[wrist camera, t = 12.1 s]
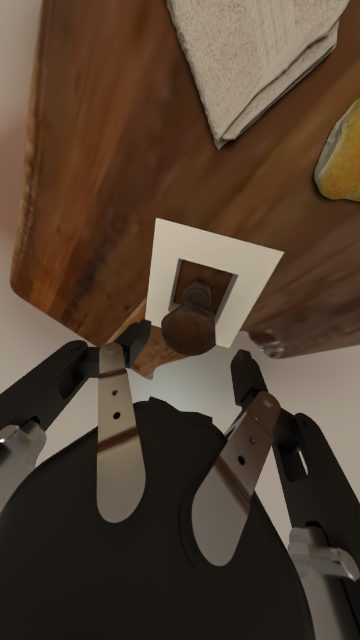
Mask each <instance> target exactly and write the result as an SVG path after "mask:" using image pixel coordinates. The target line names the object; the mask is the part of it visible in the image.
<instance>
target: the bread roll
mask: <svg viewBox="0 0 360 640" xmlns="http://www.w3.org/2000/svg"><path fill="white" fill-rule="evenodd" d="M314 179H315V182H316V184H317V186H318V189H319V191H320V192H321V194H322V195H324V196H325V197H327V198H329V199H350V200H353V201H360V98H358V99H357V100H356V101H355V102H354V103H353V104H352V105H351V106H350V108H349V109H348V110H347V111H346V112H345V113H344V115H343V116H342V117H341V119H340V120H339V121H338V122H337V123H336V124H335V126H334V128H333V129H332V131H331V133H330V135H329V138H328V140H327V142H326V144H325V146H324V148H323V150H322V152H321V155H320V158H319V160H318V163H317V166H316V169H315V172H314Z"/></svg>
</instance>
